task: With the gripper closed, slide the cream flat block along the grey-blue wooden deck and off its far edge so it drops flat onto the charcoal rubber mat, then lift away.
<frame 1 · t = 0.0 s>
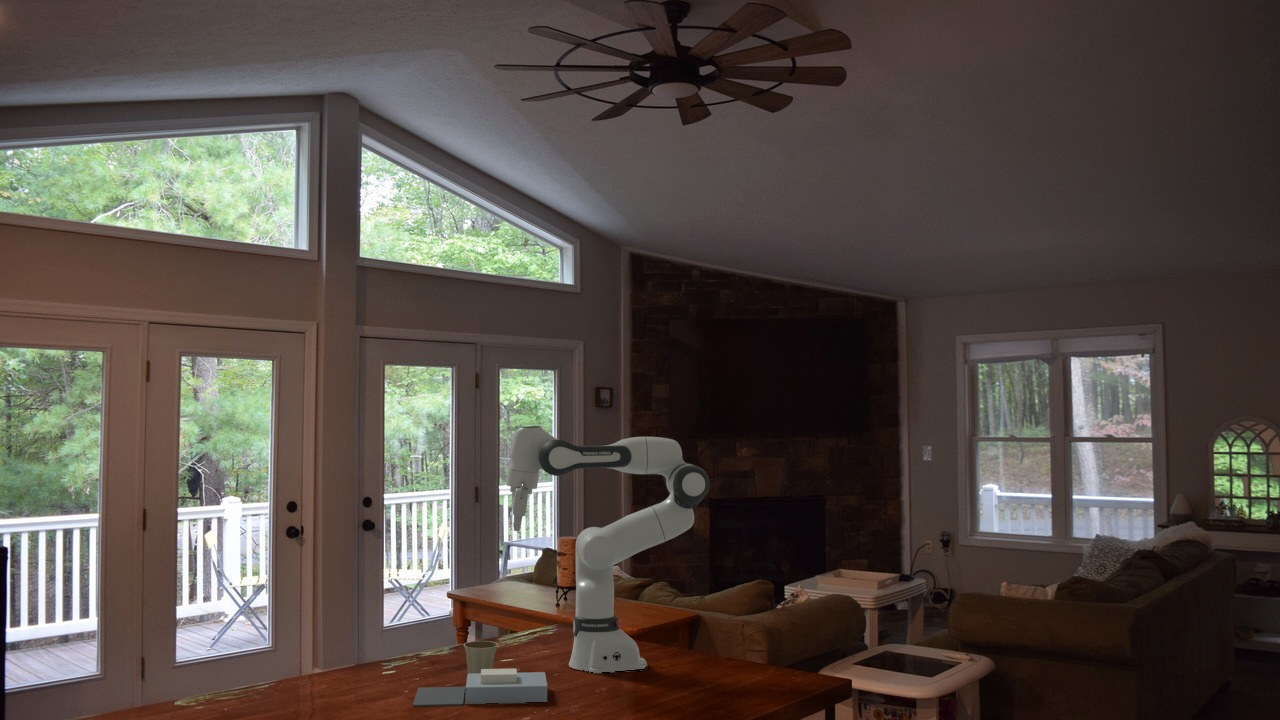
hand: (516, 529, 278), 39 cm above the table, tool pointing down, fingers open, 8 cm apart
deck: (506, 695, 245), on the table
cream flat block: (498, 679, 245), point 4 cm above the table, touching deck
mat: (439, 697, 243), on the table
flower pot: (480, 677, 264), on the table
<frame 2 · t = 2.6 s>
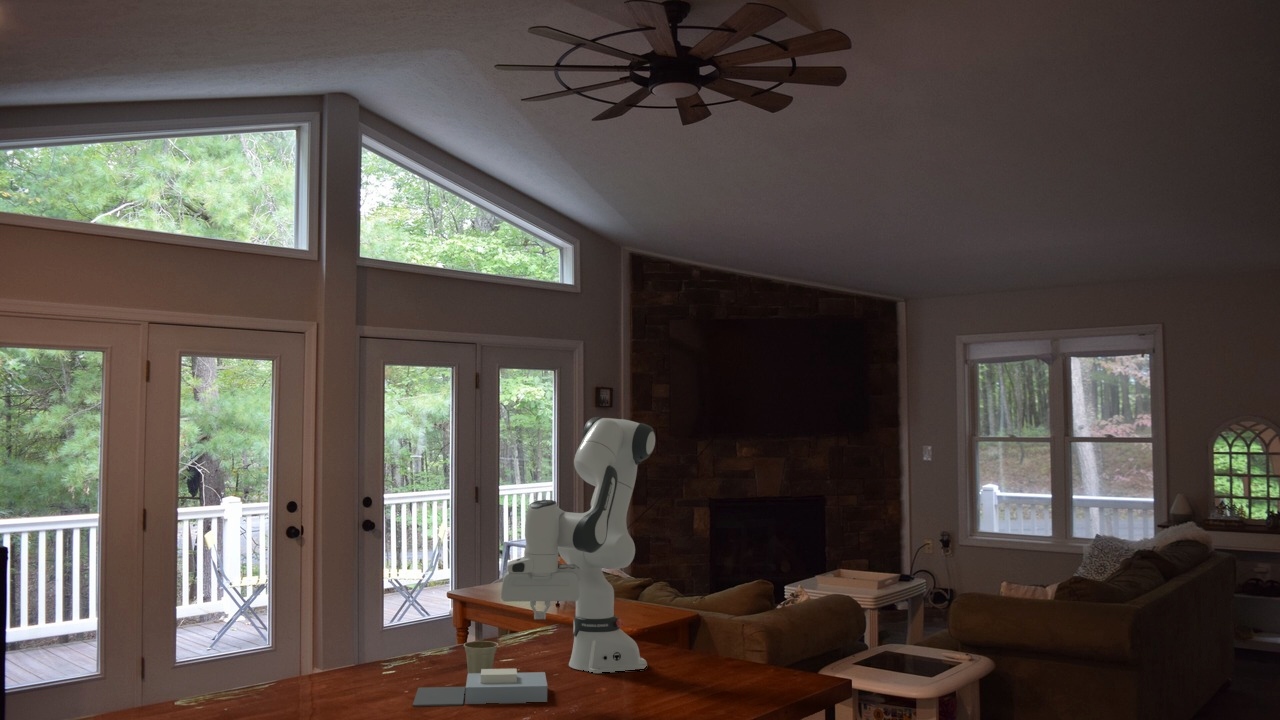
hand: (539, 618, 248), 19 cm above the table, tool pointing down, fingers closed
nothing on the table moved.
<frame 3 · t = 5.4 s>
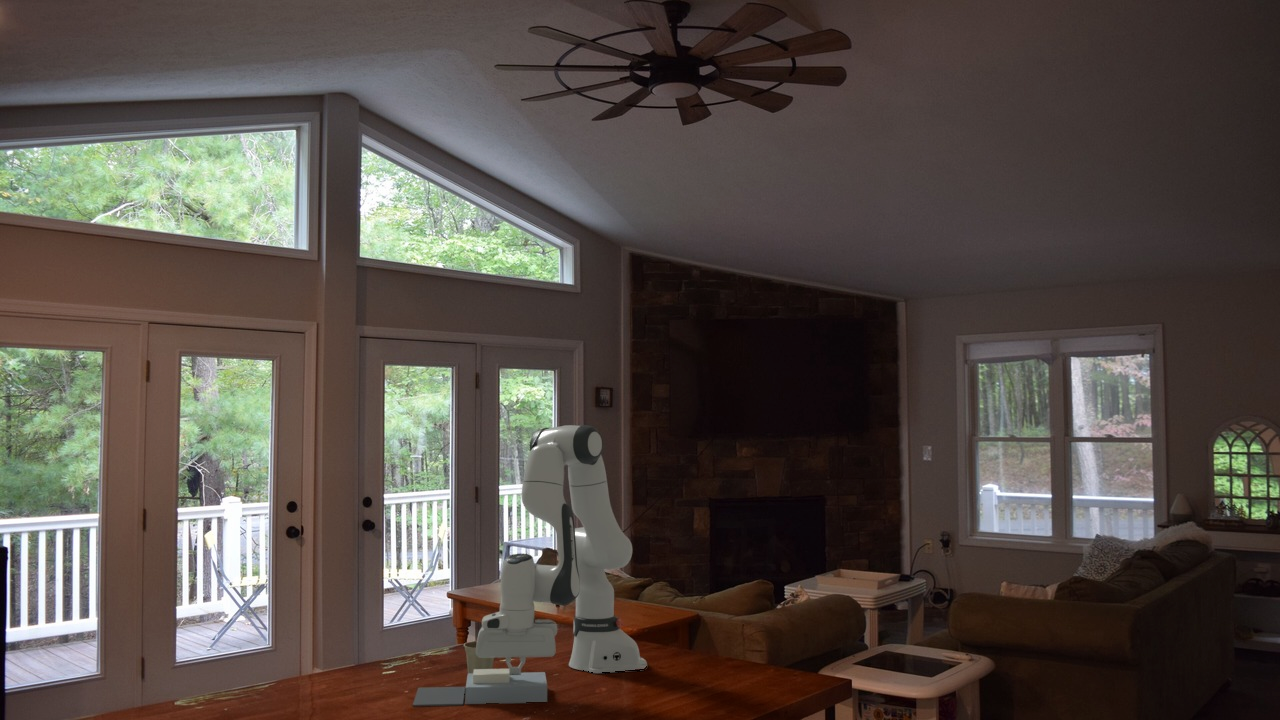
hand: (515, 674, 246), 5 cm above the table, tool pointing down, fingers closed
cream flat block: (491, 679, 245), point 4 cm above the table, touching deck, gripper
everything else where it was.
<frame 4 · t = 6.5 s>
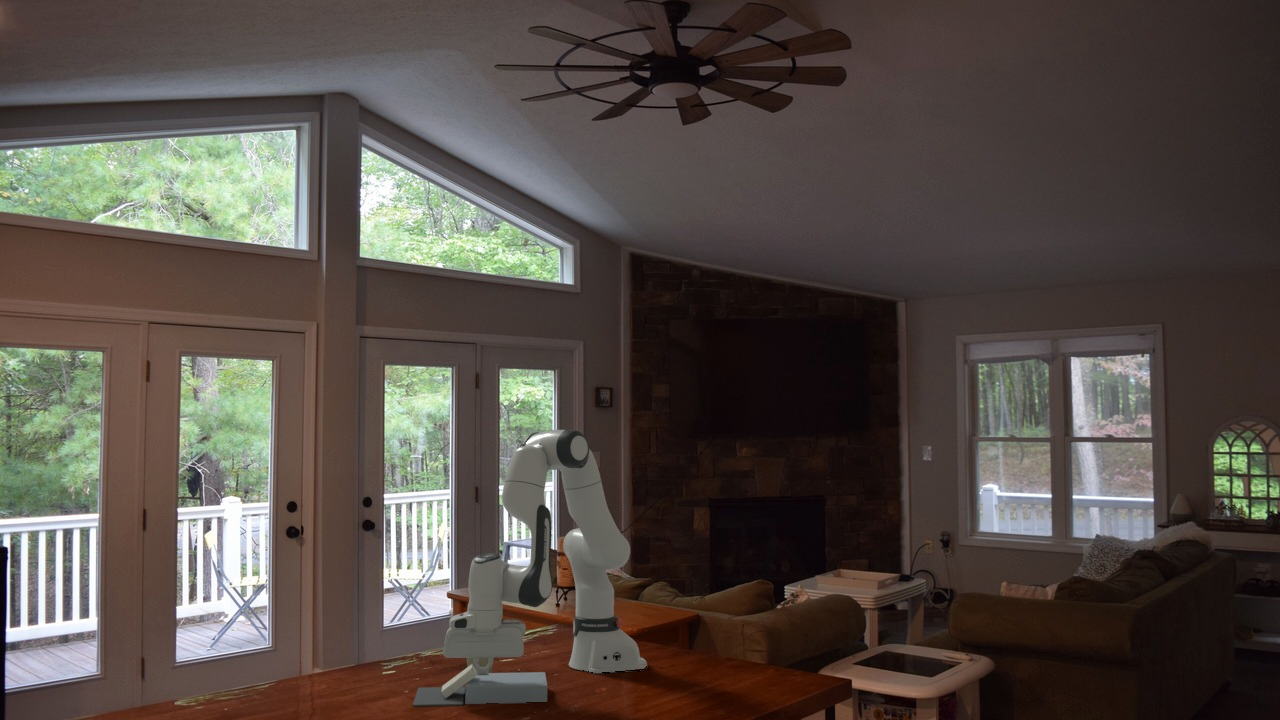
hand: (482, 675, 245), 5 cm above the table, tool pointing down, fingers closed
cream flat block: (461, 684, 244), point 3 cm above the table, tilted 36°, touching deck, mat
everything else where it was.
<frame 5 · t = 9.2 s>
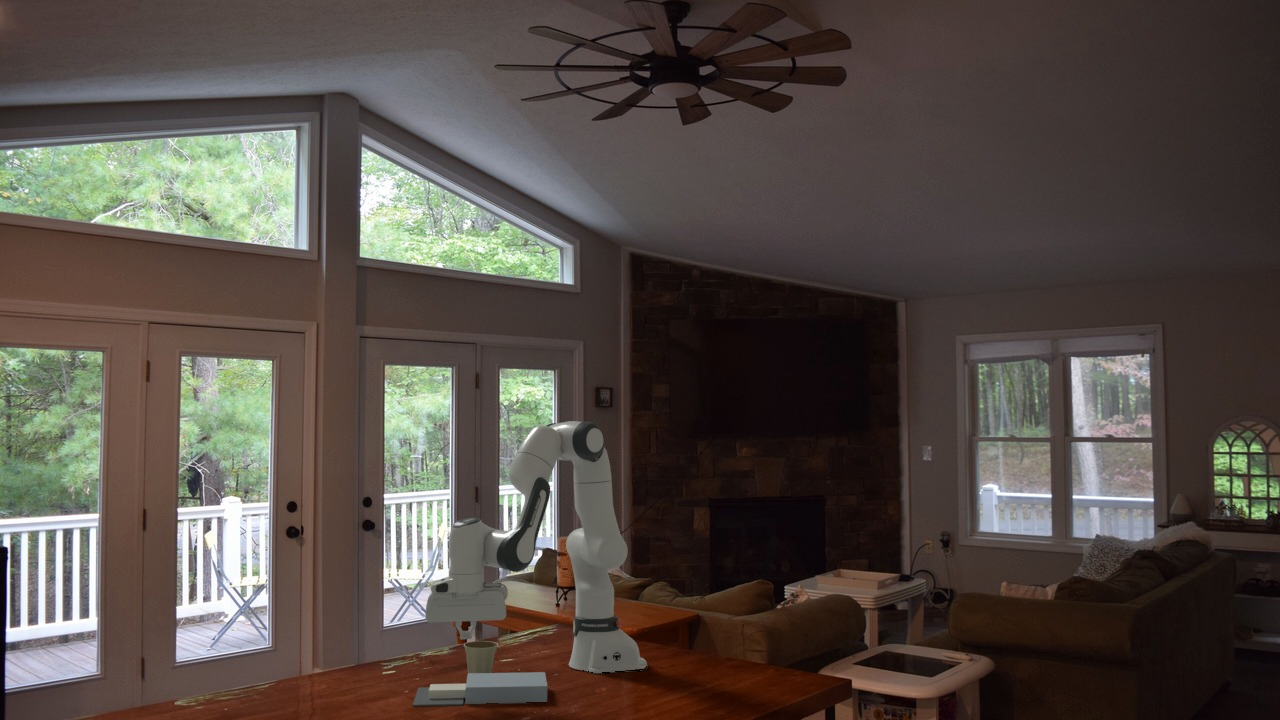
hand: (465, 638, 245), 14 cm above the table, tool pointing down, fingers closed
cream flat block: (447, 695, 243), resting on mat
everything else where it was.
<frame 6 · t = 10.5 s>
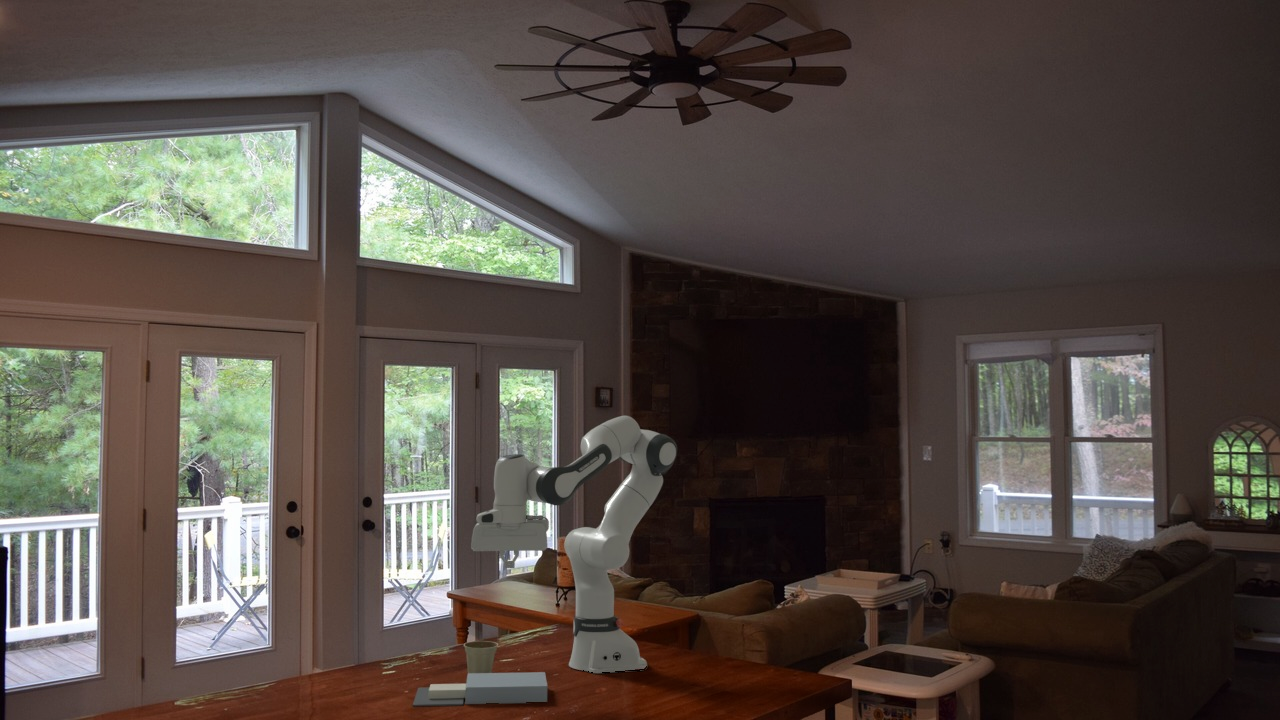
hand: (509, 567, 257), 31 cm above the table, tool pointing down, fingers closed
nothing on the table moved.
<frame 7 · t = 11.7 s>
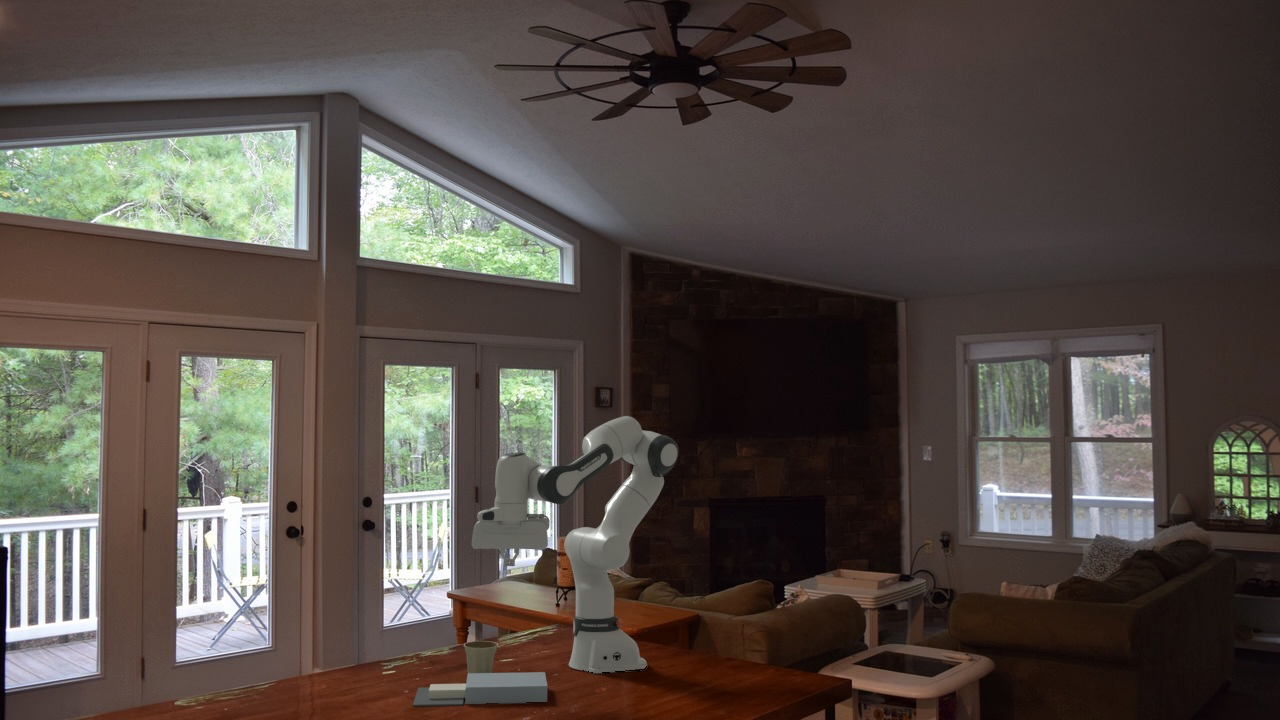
hand: (509, 566, 257), 31 cm above the table, tool pointing down, fingers closed
nothing on the table moved.
at the end: cream flat block inside the target area on the mat (1.9 cm from its centre), point 0.4 cm above the mat's base; cream flat block resting on mat; cream flat block touching mat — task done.
